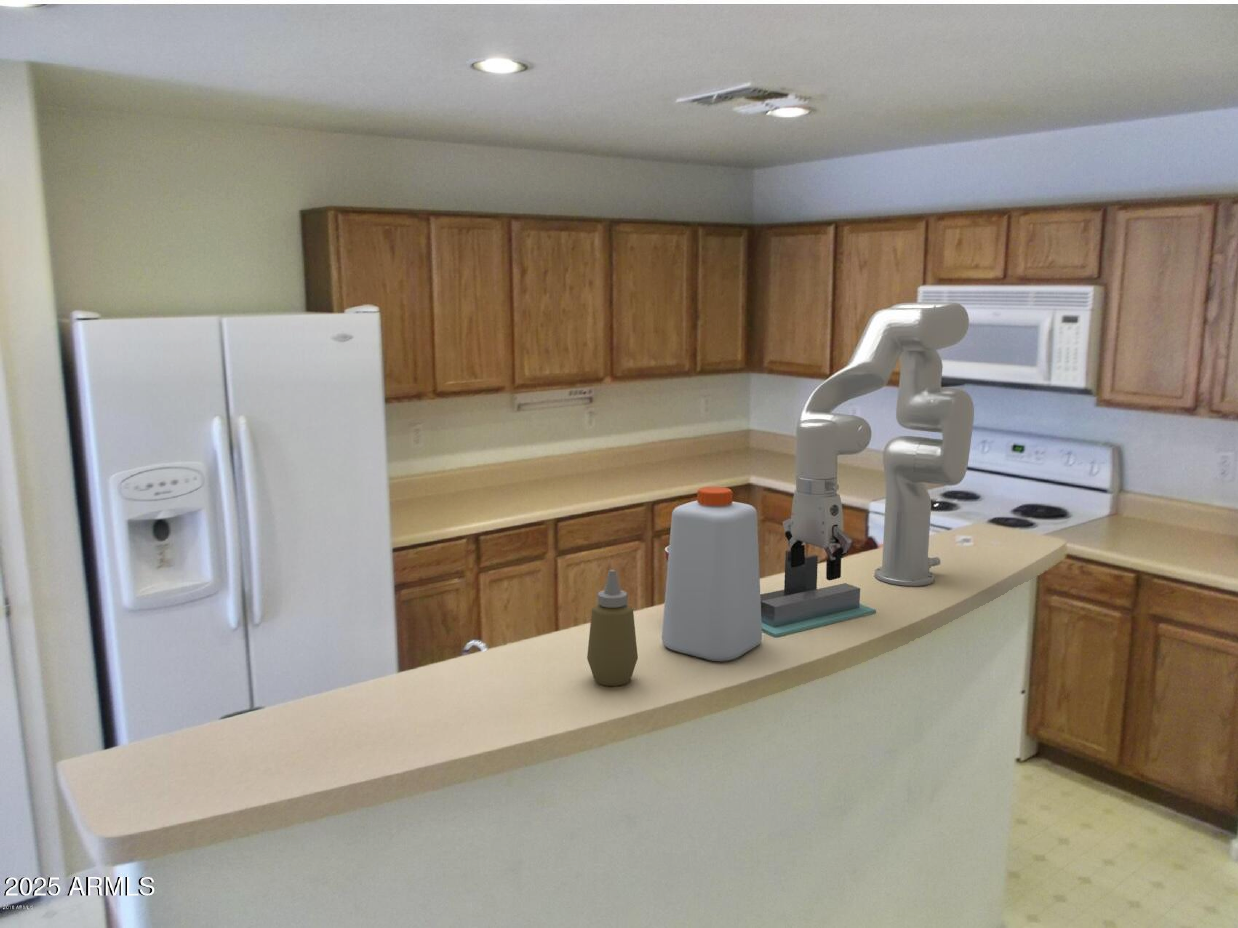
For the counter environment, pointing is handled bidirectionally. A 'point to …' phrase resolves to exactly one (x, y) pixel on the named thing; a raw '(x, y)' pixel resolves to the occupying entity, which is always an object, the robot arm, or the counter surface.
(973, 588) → the counter surface
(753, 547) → the plastic bottle
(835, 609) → the rail
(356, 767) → the counter surface
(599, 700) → the counter surface
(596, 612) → the squeeze bottle
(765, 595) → the brackets
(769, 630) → the mat
